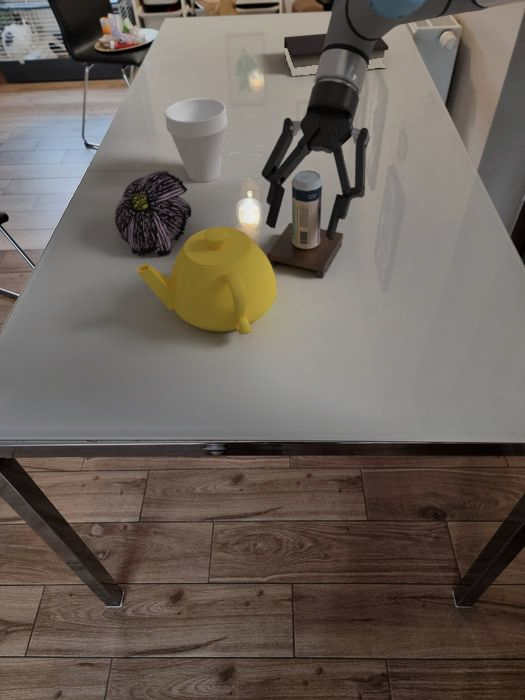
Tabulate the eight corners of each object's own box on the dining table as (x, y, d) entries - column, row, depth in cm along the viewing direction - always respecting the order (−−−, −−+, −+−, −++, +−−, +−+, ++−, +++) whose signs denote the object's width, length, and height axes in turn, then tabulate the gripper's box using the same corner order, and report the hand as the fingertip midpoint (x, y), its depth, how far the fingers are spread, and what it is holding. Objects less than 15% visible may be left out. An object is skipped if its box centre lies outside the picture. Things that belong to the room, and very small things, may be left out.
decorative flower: (81, 200, 84) (142, 144, 87) (103, 238, 95) (157, 187, 98) (143, 247, 80) (204, 186, 84) (159, 281, 91) (212, 226, 95)
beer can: (325, 244, 84) (329, 177, 75) (302, 254, 82) (303, 187, 73) (309, 231, 87) (310, 166, 78) (286, 241, 85) (285, 175, 76)
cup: (165, 175, 109) (152, 110, 99) (210, 156, 114) (201, 92, 104) (198, 195, 102) (187, 127, 92) (244, 173, 107) (238, 108, 98)
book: (370, 48, 161) (372, 27, 157) (385, 68, 148) (388, 46, 143) (284, 56, 160) (284, 35, 156) (292, 76, 147) (292, 54, 143)
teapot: (256, 260, 86) (251, 192, 77) (299, 330, 74) (300, 260, 64) (142, 290, 82) (122, 222, 73) (167, 370, 69) (147, 300, 60)
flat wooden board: (342, 245, 88) (343, 233, 86) (323, 278, 82) (324, 266, 80) (289, 234, 91) (289, 222, 89) (267, 265, 85) (267, 253, 83)
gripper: (408, 109, 78) (369, 250, 80) (278, 95, 85) (245, 224, 86) (406, 85, 71) (363, 240, 72) (264, 71, 78) (228, 213, 79)
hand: (299, 231), depth 79 cm, fingers open, 9 cm apart
